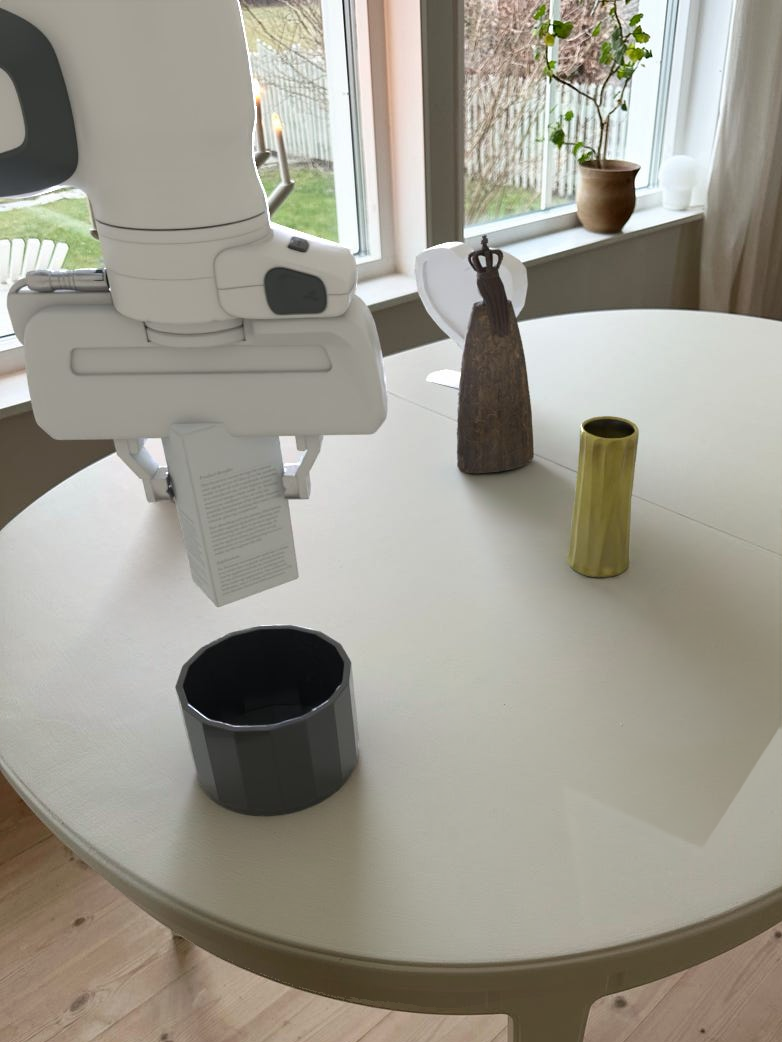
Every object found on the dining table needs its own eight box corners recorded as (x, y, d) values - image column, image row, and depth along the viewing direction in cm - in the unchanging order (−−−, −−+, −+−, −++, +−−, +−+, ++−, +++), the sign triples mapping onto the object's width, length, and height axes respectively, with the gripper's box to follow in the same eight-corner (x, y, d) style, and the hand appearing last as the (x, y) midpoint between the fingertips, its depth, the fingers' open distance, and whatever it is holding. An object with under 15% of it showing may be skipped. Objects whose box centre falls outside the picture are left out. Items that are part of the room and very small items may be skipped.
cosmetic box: (271, 553, 66) (247, 387, 59) (300, 580, 64) (279, 409, 56) (188, 581, 63) (152, 410, 56) (215, 610, 61) (181, 434, 54)
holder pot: (181, 818, 67) (158, 733, 62) (213, 707, 76) (195, 626, 72) (353, 813, 67) (344, 728, 62) (363, 704, 77) (355, 622, 72)
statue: (485, 443, 117) (486, 226, 102) (540, 456, 114) (549, 235, 99) (448, 470, 111) (444, 244, 96) (505, 485, 108) (510, 254, 93)
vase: (614, 585, 91) (628, 446, 83) (556, 568, 94) (564, 432, 85) (638, 556, 95) (653, 421, 87) (582, 541, 98) (591, 409, 89)
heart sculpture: (415, 377, 135) (409, 243, 124) (436, 367, 138) (432, 235, 127) (507, 401, 128) (510, 261, 117) (527, 389, 131) (531, 252, 120)
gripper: (-26, 287, 49) (46, 525, 57) (376, 282, 49) (390, 518, 58) (17, 254, 54) (78, 477, 62) (381, 250, 54) (393, 471, 63)
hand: (231, 497), depth 60 cm, fingers closed on cosmetic box, 7 cm apart
